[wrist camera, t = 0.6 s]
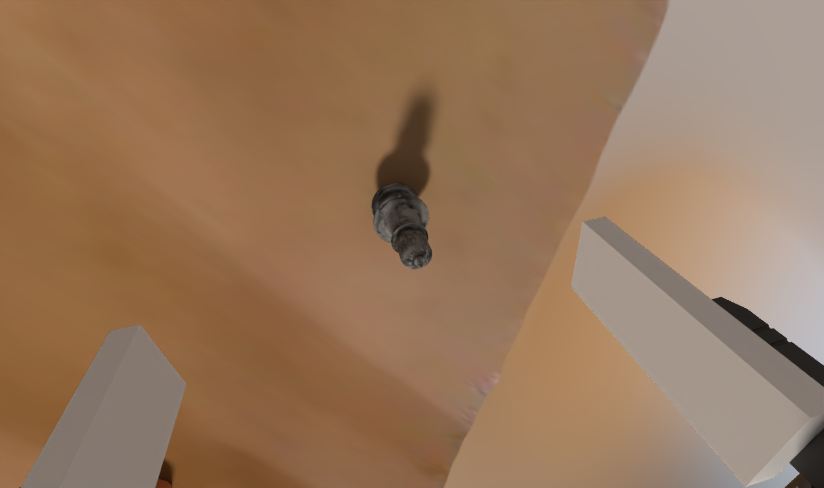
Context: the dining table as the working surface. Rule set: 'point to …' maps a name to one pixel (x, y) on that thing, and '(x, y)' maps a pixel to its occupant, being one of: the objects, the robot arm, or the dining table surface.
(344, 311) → the dining table surface
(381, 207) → the grey rounded stepped piece
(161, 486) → the toy tea set
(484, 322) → the dining table surface
